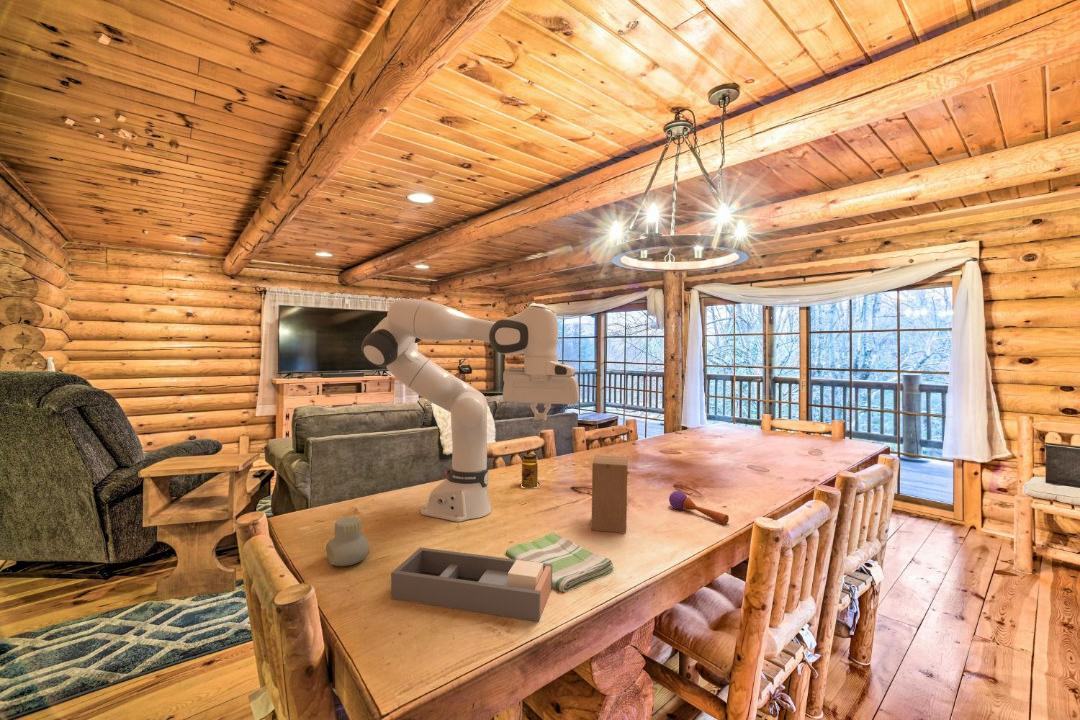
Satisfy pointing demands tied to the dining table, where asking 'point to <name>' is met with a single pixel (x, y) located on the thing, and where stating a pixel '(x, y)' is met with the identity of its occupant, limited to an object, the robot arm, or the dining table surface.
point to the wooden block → (609, 494)
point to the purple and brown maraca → (695, 507)
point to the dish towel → (563, 560)
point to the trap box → (468, 584)
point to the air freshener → (347, 543)
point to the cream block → (525, 574)
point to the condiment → (530, 471)
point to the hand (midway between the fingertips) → (540, 420)
